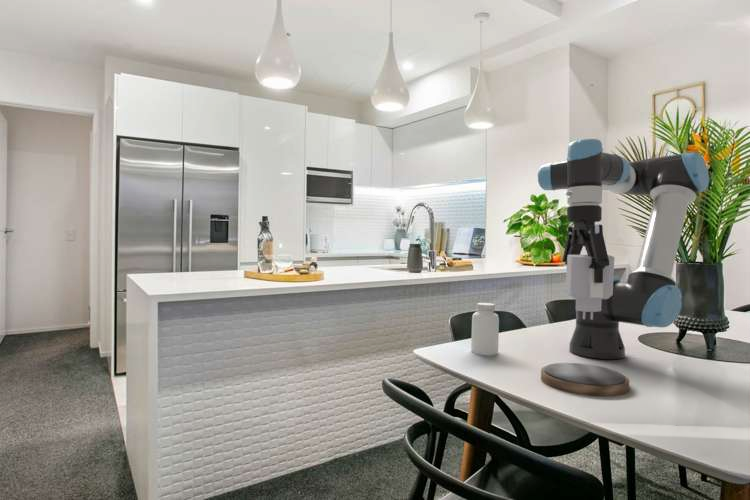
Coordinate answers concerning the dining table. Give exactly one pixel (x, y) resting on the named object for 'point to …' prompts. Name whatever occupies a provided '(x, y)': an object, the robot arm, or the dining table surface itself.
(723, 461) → the dining table surface
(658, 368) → the dining table surface
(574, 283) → the charger
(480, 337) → the pill bottle
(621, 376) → the round mirror
